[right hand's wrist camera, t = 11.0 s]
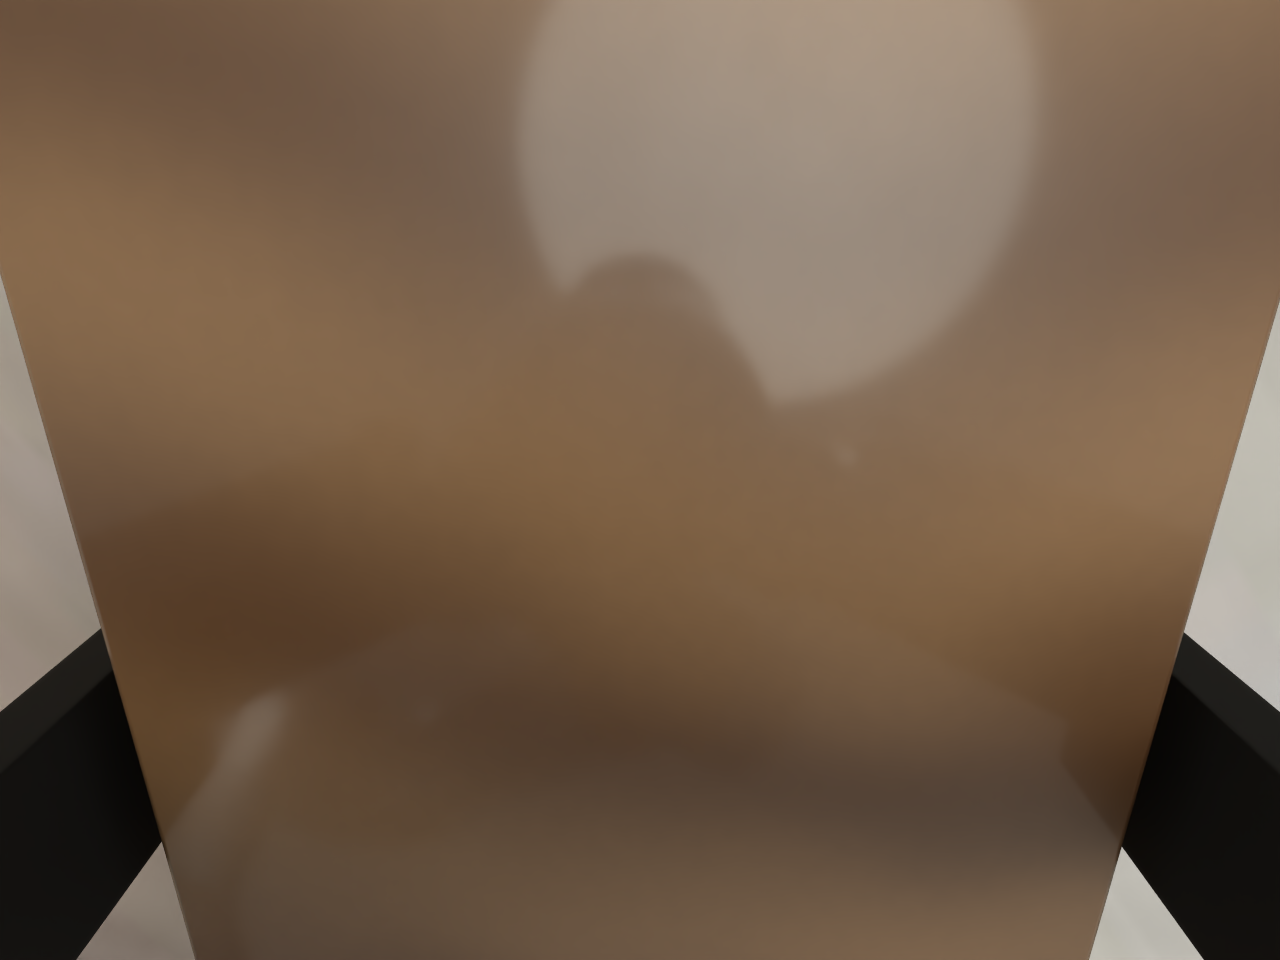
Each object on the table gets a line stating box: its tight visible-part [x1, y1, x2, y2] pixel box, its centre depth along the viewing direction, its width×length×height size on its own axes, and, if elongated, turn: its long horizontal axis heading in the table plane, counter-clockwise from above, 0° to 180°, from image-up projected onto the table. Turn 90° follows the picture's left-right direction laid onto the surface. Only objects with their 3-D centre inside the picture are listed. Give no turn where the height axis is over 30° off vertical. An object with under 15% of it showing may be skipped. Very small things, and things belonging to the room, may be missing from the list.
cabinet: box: [0, 0, 1280, 960], centre depth 11 cm, size 22×12×10 cm, turn 0°
